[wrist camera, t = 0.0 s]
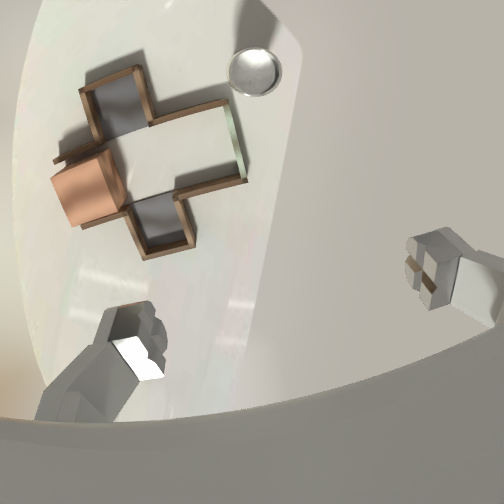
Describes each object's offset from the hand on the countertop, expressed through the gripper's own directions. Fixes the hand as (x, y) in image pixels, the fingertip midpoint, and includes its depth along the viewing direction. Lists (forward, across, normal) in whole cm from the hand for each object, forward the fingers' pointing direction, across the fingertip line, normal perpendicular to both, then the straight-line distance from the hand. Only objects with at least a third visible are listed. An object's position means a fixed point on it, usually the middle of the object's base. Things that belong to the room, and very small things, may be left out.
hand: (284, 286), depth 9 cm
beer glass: (+48, -4, -6) cm, 49 cm away
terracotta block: (+48, +28, +5) cm, 56 cm away
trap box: (+48, +17, +5) cm, 51 cm away
